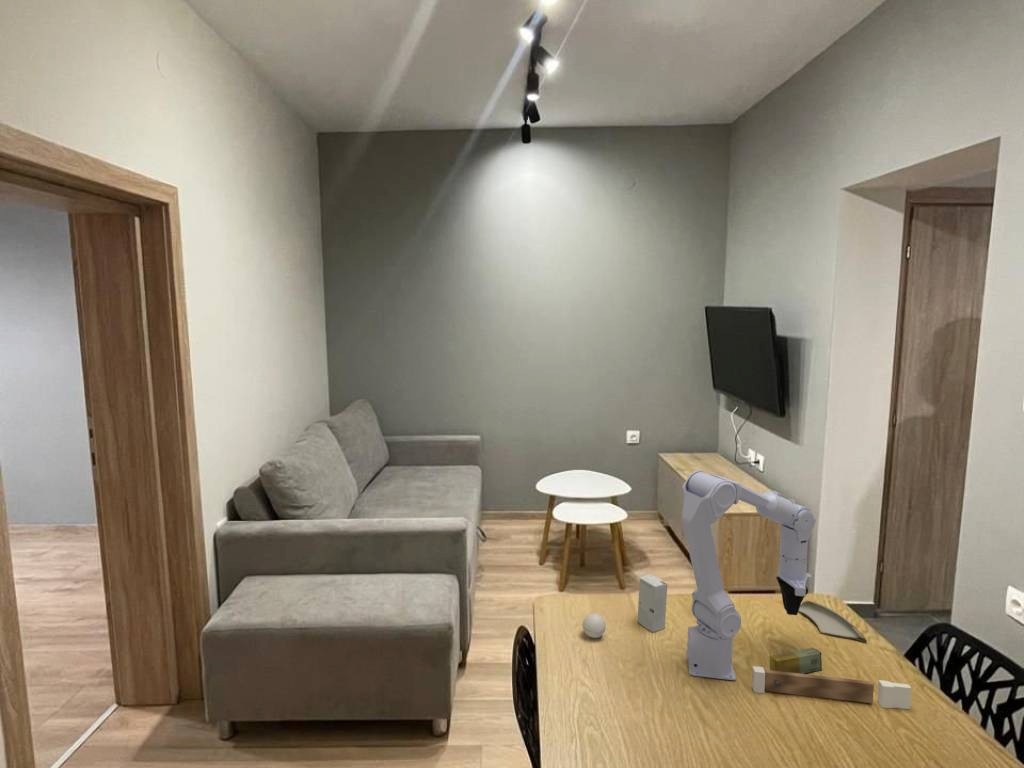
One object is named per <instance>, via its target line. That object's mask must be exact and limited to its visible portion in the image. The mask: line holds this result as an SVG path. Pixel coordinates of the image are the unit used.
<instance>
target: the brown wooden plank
mask: <svg viewBox="0 0 1024 768" xmlns="http://www.w3.org/2000/svg"><path fill="white" fill-rule="evenodd" d="M873 682H874V681H868V680H860V679H854V678H853V679H852V678H841V677H834V676H824V675H815V674H808V673H803V674H799V673H790V672H781V671H772V670H770V669H765V688H764V691H766V692H771V693H772V692H773V693H781V694H782V693H783V694H790V695H799V696H806V697H816V698H825V699H833V700H840V701H847V702H848V701H849V702H856V703H864V704H865V703H866V704H873V703H874V691H875V684H874V683H873Z"/></svg>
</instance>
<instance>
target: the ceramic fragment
mask: <svg viewBox="0 0 1024 768" xmlns="http://www.w3.org/2000/svg"><path fill="white" fill-rule="evenodd" d="M798 614H800V615H802V616H804V617H806V618H808V620H810V621H811V622H812V623H813V624H814V625H815V626H816V627H817V630H819V633H820V634H821V635H826V636H830V637H835V638H841V639H848V640H853V641H859V642H862V643H868V641H867V639H866V637H865V636H864V635H863V634H862V632H861V631H860V630H859V629H858V628H857V627H856V626H855V625H854V624H853V623H852V622H851V621H850V620H848V618H845V617H844V616H843V615H842V614H840V613H839V612H836V611H835V610H834V609H831V608H830V607H828V606H826V605H823V604H821V603H818V602H816V601H811V600H807V599H806V600H804V601H802V602H801V605H800V608H799V611H798Z"/></svg>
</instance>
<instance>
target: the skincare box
mask: <svg viewBox="0 0 1024 768" xmlns="http://www.w3.org/2000/svg"><path fill="white" fill-rule="evenodd" d="M638 586H639V587H638V605H637V606H638V607H637V608H638V609H637V623H639V624H640V625H641V626H643V627H644V628H645V629H647V630H648V631H650V632H651V633H655V632H658V631H661V630H664V629H666V613H667V612H666V611H667V598H668V597H667V596H668V583H667V582H666V581H664V580H663V579H661V578H660V577H658V576H655V575H654V574H652V573H650V574H646V575H643V576H640V577H639V585H638Z"/></svg>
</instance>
